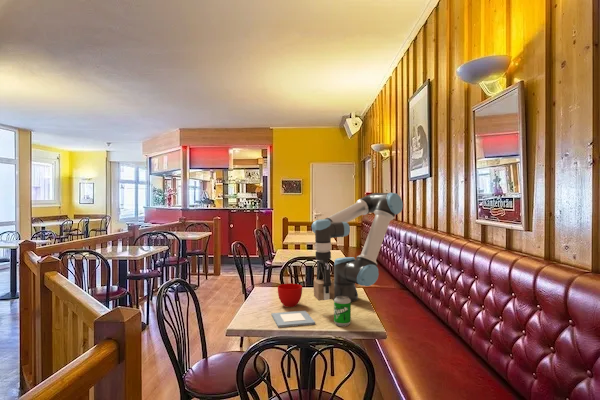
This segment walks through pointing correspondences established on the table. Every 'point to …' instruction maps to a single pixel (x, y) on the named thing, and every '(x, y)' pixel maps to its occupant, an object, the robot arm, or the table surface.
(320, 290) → the walnut block
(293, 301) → the ceramic cup
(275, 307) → the table surface
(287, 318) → the baseplate
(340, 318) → the soda can
